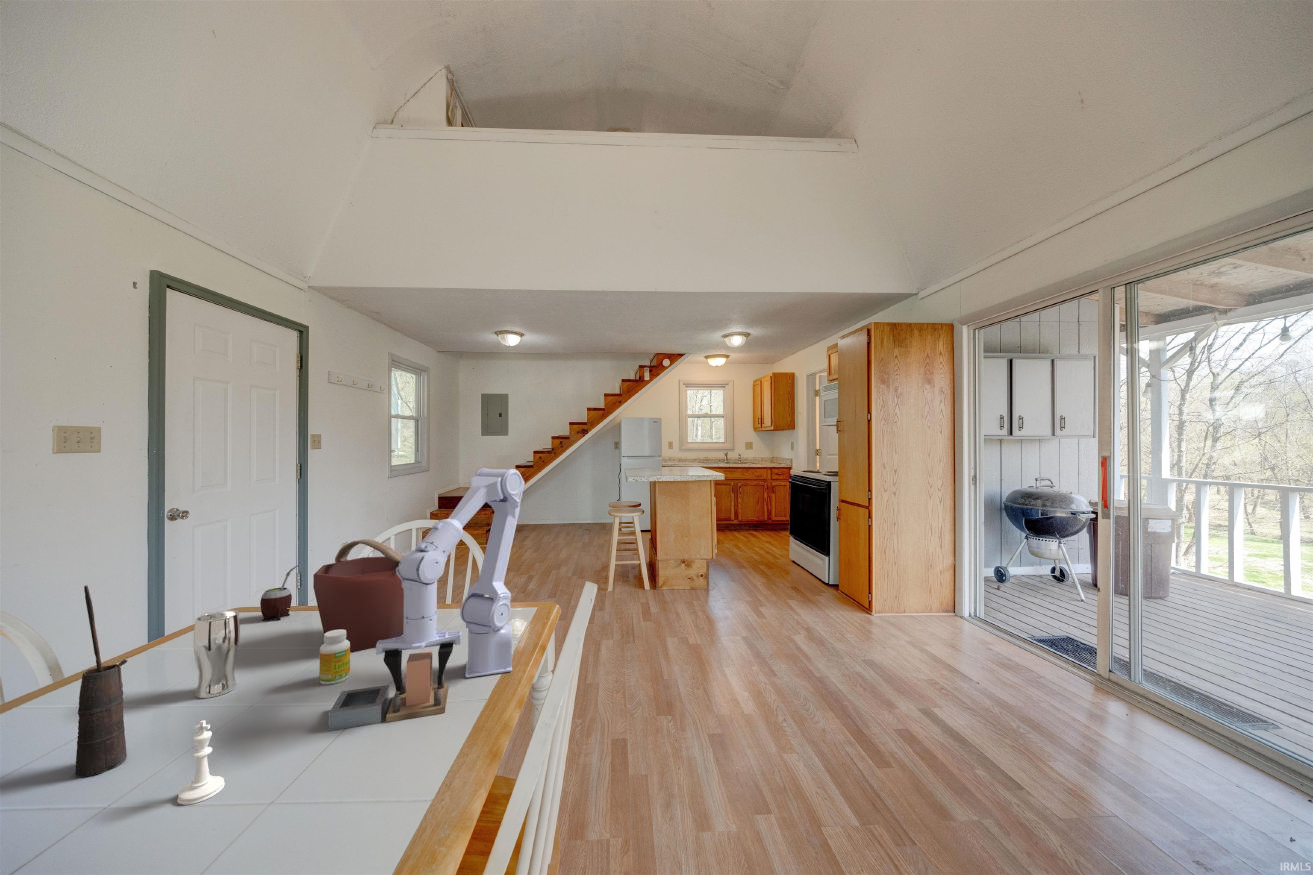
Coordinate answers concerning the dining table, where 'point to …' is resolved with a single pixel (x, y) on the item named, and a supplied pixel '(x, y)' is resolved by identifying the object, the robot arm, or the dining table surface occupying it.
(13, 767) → the dining table surface
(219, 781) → the chess piece
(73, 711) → the dining table surface
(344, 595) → the bucket
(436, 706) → the board
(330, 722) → the socket collar
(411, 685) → the pin
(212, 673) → the beer glass
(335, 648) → the supplement bottle
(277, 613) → the mate gourd
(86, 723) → the butter churn
